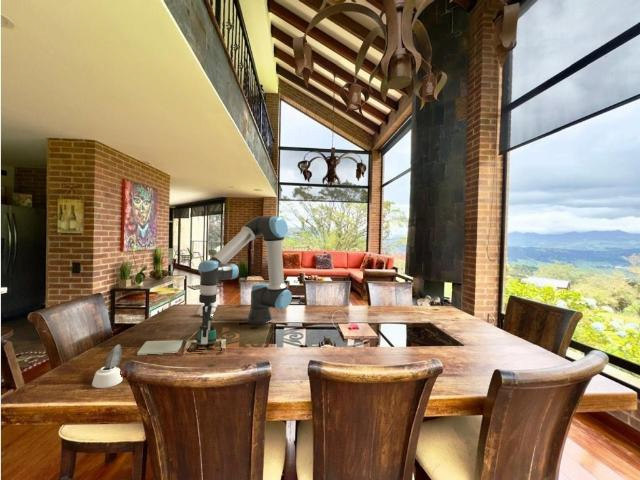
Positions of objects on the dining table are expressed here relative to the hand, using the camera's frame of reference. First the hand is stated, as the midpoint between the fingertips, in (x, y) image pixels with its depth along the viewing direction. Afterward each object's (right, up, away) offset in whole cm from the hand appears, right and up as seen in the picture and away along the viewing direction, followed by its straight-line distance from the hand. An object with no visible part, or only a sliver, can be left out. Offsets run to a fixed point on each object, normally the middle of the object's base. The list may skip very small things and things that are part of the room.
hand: (205, 339), depth 155 cm
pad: (-18, -3, -5) cm, 19 cm away
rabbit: (-17, -2, +53) cm, 55 cm away
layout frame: (0, -4, 0) cm, 4 cm away
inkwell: (-22, -4, -35) cm, 41 cm away
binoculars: (0, -4, 0) cm, 4 cm away
